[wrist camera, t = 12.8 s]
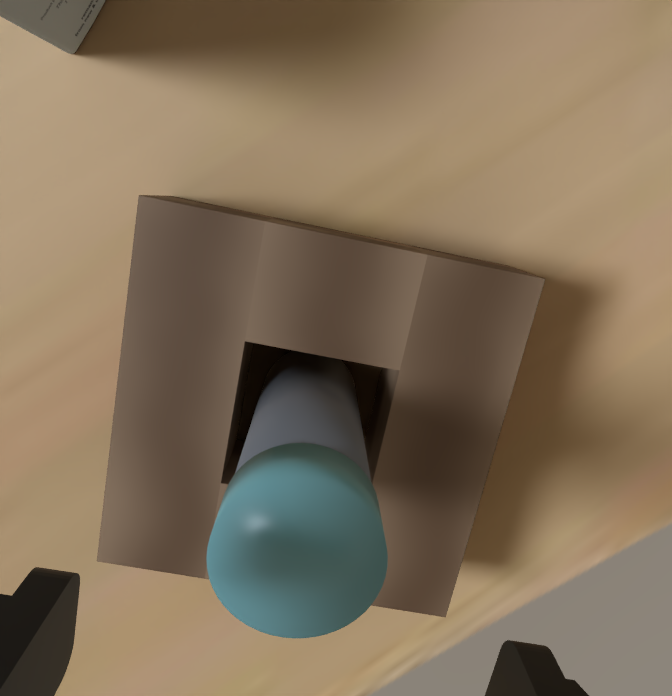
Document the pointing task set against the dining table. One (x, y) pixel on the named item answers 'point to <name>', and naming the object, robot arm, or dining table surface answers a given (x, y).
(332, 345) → the socket
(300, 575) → the peg
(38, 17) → the ink box
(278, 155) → the dining table surface
